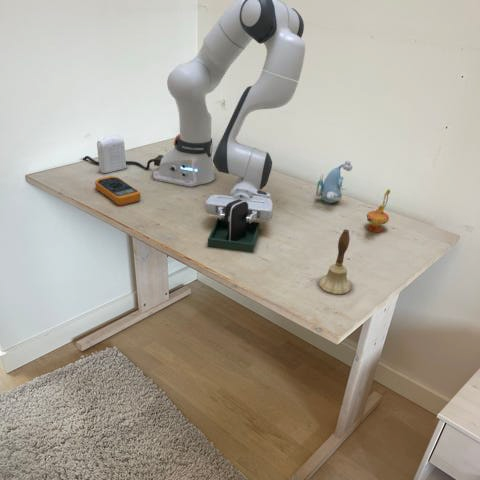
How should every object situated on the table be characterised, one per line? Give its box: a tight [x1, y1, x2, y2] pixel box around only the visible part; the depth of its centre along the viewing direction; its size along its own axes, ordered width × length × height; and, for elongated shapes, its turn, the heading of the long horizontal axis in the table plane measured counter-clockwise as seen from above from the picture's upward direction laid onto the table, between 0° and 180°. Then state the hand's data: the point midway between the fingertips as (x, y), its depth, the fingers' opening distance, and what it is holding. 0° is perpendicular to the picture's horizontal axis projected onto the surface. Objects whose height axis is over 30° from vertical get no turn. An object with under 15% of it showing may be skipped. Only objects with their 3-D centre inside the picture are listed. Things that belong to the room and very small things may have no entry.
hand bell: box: [318, 229, 352, 295], centre depth 125 cm, size 8×8×16 cm
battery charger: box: [225, 199, 248, 241], centre depth 144 cm, size 7×4×11 cm, turn 139°
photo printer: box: [96, 135, 127, 174], centre depth 181 cm, size 10×4×12 cm, turn 134°
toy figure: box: [315, 160, 353, 204], centre depth 168 cm, size 17×10×15 cm, turn 168°
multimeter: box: [94, 175, 142, 206], centre depth 167 cm, size 9×18×3 cm, turn 40°
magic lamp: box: [366, 188, 391, 233], centre depth 154 cm, size 7×18×11 cm, turn 149°
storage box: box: [207, 217, 261, 253], centre depth 147 cm, size 13×14×3 cm
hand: (235, 219), depth 143 cm, fingers open, 6 cm apart
